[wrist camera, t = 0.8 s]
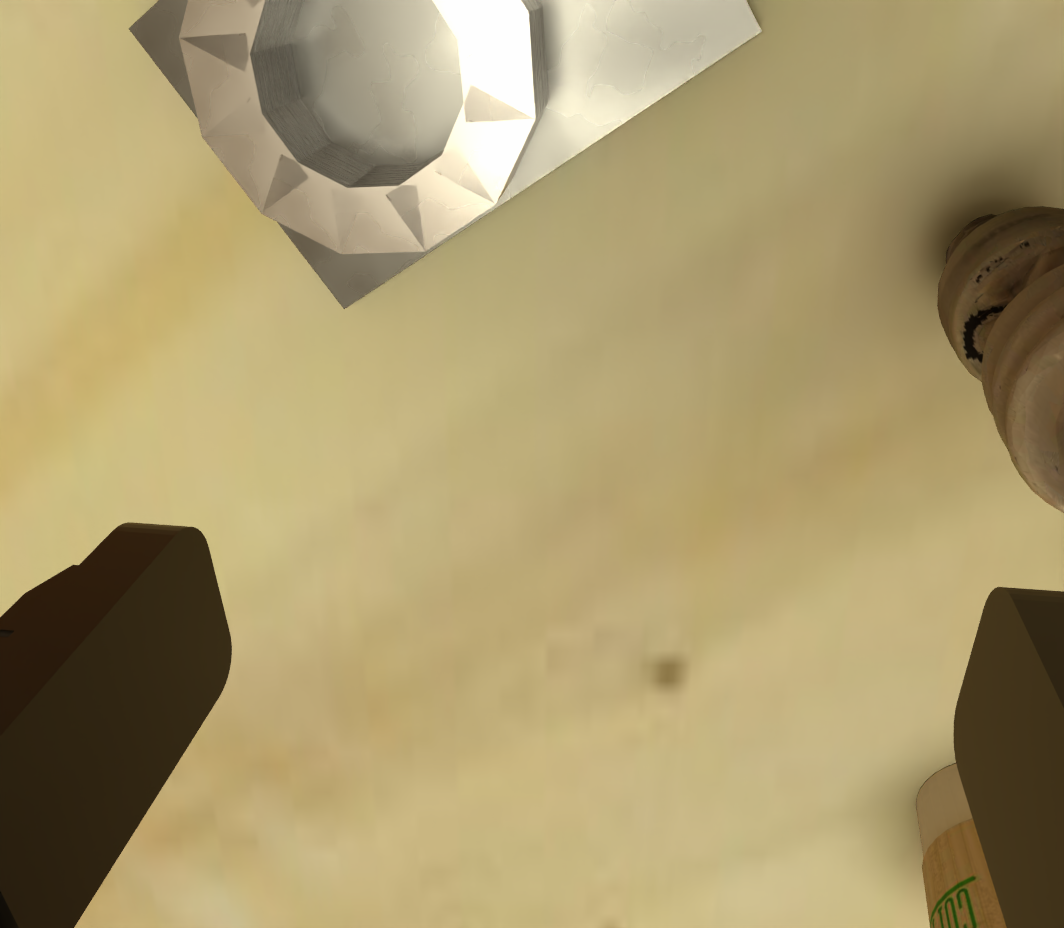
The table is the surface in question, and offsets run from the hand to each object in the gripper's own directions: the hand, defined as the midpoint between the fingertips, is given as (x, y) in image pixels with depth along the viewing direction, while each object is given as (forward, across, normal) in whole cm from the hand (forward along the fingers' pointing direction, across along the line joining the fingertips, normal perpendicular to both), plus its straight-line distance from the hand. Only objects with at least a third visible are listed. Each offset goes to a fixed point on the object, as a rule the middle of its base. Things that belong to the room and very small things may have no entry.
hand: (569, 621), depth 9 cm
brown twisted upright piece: (+27, -11, +4) cm, 30 cm away
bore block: (+26, +8, -4) cm, 28 cm away
